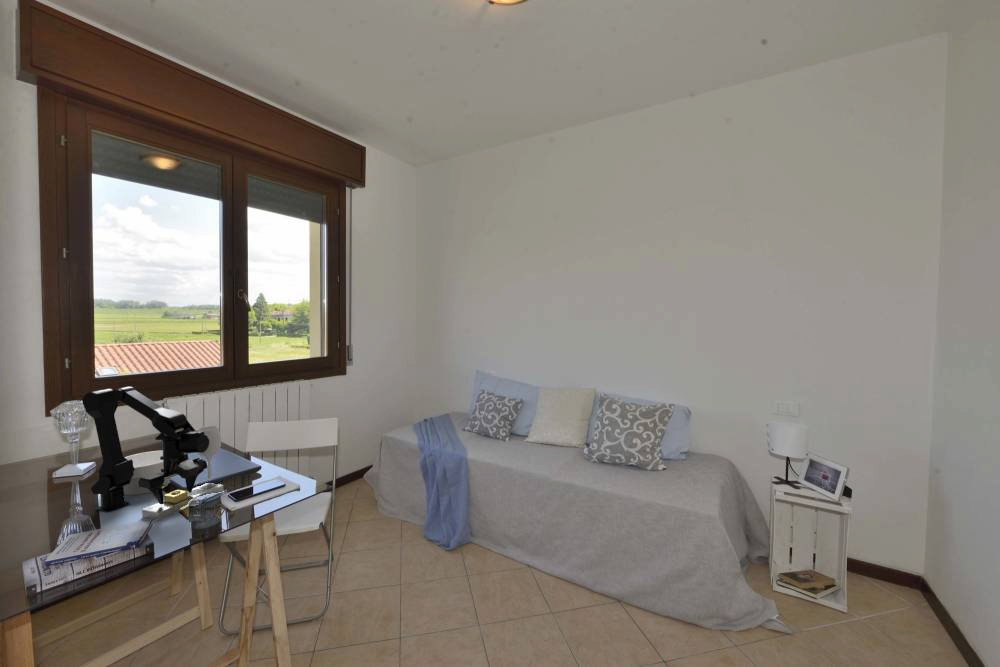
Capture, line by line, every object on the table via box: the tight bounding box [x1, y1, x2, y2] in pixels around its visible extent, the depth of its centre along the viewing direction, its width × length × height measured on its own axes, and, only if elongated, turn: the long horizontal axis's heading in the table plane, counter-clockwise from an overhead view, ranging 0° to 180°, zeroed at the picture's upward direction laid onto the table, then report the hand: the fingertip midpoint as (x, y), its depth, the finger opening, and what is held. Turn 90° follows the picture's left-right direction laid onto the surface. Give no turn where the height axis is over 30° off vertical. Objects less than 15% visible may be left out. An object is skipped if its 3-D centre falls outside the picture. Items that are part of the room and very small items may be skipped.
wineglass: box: [196, 425, 222, 479], centre depth 163 cm, size 9×9×21 cm
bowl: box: [123, 449, 172, 496], centre depth 160 cm, size 19×19×11 cm
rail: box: [141, 483, 224, 521], centre depth 146 cm, size 8×22×3 cm, turn 162°
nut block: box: [163, 489, 188, 505], centre depth 143 cm, size 4×4×5 cm
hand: (176, 498), depth 143 cm, fingers open, 9 cm apart
